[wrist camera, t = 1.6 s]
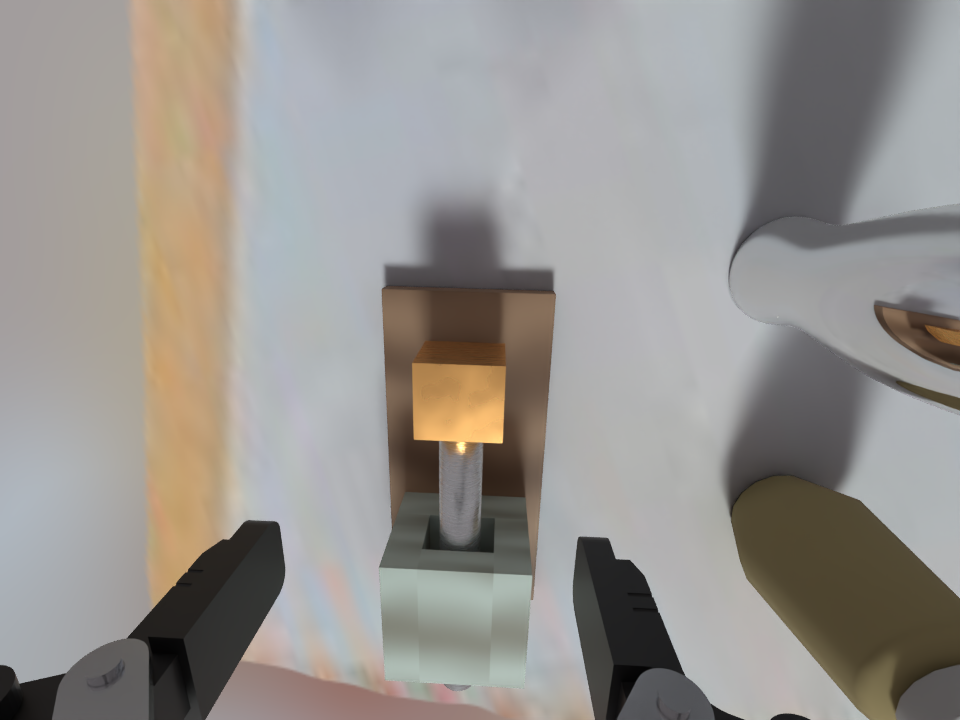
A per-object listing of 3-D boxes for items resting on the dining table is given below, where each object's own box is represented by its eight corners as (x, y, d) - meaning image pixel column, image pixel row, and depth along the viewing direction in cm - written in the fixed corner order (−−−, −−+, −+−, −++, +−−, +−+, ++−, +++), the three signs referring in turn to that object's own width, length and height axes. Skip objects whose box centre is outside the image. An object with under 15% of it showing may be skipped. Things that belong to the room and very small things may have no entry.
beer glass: (726, 212, 25) (1026, 205, 11) (857, 203, 25) (1352, 184, 10) (714, 333, 27) (953, 463, 13) (835, 327, 27) (1221, 454, 12)
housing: (386, 285, 27) (342, 312, 19) (553, 291, 27) (574, 320, 19) (398, 579, 34) (368, 685, 26) (531, 586, 33) (541, 696, 26)
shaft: (425, 340, 25) (412, 362, 21) (505, 343, 25) (505, 366, 21) (429, 643, 32) (420, 701, 28) (492, 646, 31) (491, 706, 28)
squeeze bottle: (707, 471, 30) (984, 812, 13) (836, 447, 29) (1321, 780, 12) (718, 568, 32) (966, 967, 15) (838, 548, 31) (1247, 951, 14)
